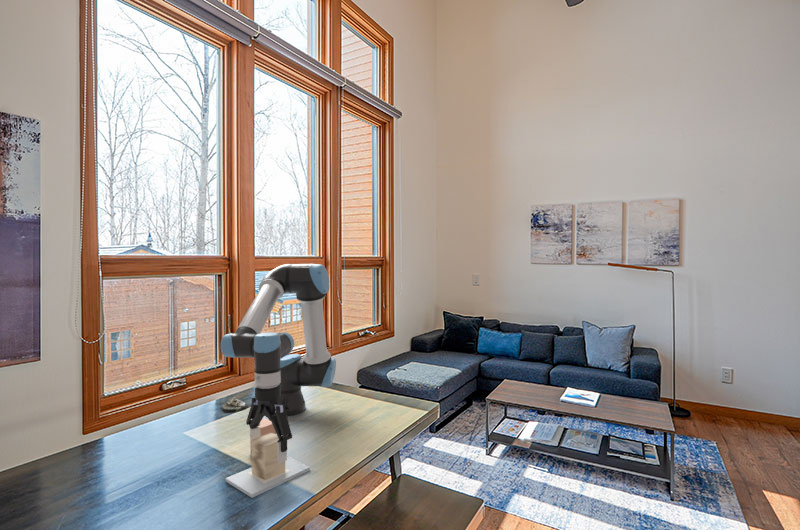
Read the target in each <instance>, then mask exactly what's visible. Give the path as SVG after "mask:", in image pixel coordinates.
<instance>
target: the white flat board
mask: <svg viewBox="0 0 800 530" xmlns="http://www.w3.org/2000/svg"><path fill="white" fill-rule="evenodd" d="M309 471H311V467H310V466H309V465H306V464H305V463H303V462H300V461H299V460H296V459H294V458H292V457H290V456H288V455H287V461H285V472H283V473H280V474H278V475H276V476H274V477H272V478H270V479H267V480H264V479H262V478H260V477H258V476H256V475H255V474H253V473H252V466H251V467H249V468H247V469H244V470H242V471H240V472H237V473H234V474H232V475H230V476H228V477H225V483H227V484H229V485H230V486H232V487H233V488H235V489H237V490H238V491H240V492H242V493H243V494H245V495H246V496H248V497H250V498H251V499H253V498H255V497H257V496H259V495H261V494H263V493H265V492H268V491H270V490H272V489H275V488H276V487H279V486H280V485H282V484H284V483H286V482H287V483H288V482H289V481H290V480H293V479H294V478H297V477H299V476H301V475H304V474H305V473H307V472H309Z"/></svg>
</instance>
